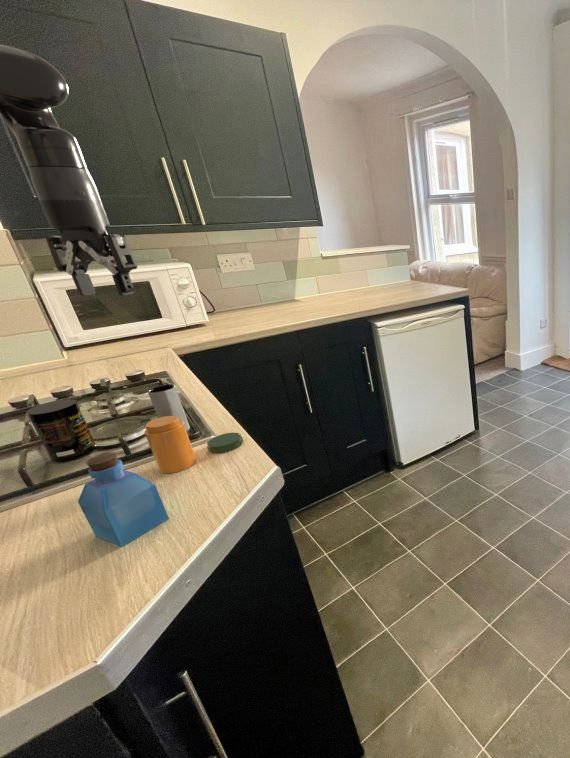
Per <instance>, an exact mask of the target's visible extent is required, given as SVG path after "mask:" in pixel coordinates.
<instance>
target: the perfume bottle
mask: <svg viewBox="0 0 570 758" xmlns="http://www.w3.org/2000/svg"><path fill="white" fill-rule="evenodd" d="M85 464H86V465H87V466H88V468H89V469H88V470H87V471H88V474H89V477H90V478H91V479H93V480H91V481H88V482H86V483H84V486H83V487H82V491H81V493H80V496H79V497H78V501H77V503H78V505H79V507H80V509H81V511H82V513H83V515H84V517H85V519H86V521H87V523H88V525H89V527H90V528H91V530H92V531H91V532H93V535H94V537H95V538H98V539H101V540H104V541H106V542H108V543H111V544H113V545H117V546H120V547H123V548H124V547H125V546H126V545H128V544H130V543H132V542H133V541H134V540H136V539H138V538H140V537H141V536H143V535H145V534H146V533H148V532H149V531H151V530H153V529H155V528H156V527H158V526H159V525H161V524H163V523H164V522H166V521H167V520H169V519H170V517H169V515H168V513H167V512H168V511H167V510H166V508H165V507H166V506H165V504H164V503H163V500H162V498H161V495H160V493H159V491H158V488H157V485H156V484H155V483H153V482H151V481H150V480H148V479H146V478H145V477H143V476H141V475H139V474H138V473H136V472H132V471H129V470H126V469H124V467H125V466H124V464H123V461H122V460H121V459H119V458H118V455H117V452H113V451H110V452H105V453H101V454H97V455H94V456H92V457H91V458H89V459H87V460H86V462H85Z"/></svg>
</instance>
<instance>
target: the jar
mask: <svg viewBox="0 0 570 758" xmlns="http://www.w3.org/2000/svg"><path fill="white" fill-rule="evenodd" d="M143 434H144V436H145V438H146V441H147V443H148V446H149V448H150V450H151V453H152V456H153V458H154V460H155V463H156V464H157V465H156V466H157V468H158V471H159V472H160V473H161V474H173V473H178V472H182V471H184V470H186V469H188V468H191V467H192V466H194V465H195V463H196V462H197V457H196V454H195V452H194V449H193V446H192V442H191V440H190V436H189V434H188V431H186V429H185V426H184V423H183V422H182V421H179V419H178V417H177V416H164V417H160V418H158V417H156V418H154V419H151V420H149V421H148V422H147V423H145V430H144V431H143Z"/></svg>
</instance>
